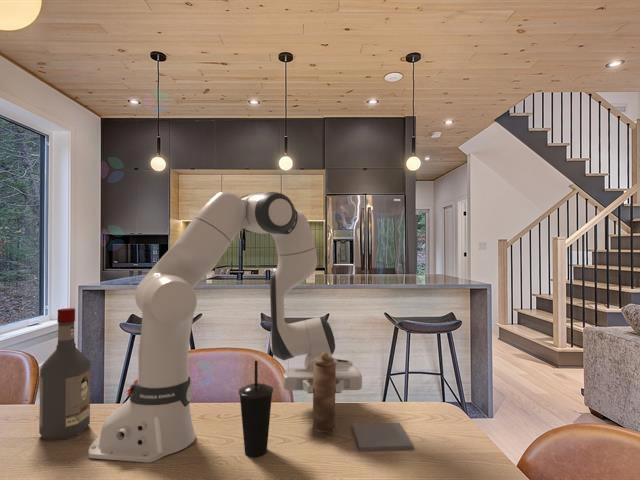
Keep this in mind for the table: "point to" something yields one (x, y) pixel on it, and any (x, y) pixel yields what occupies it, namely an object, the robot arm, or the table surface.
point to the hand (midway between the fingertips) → (324, 390)
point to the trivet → (381, 436)
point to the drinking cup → (255, 416)
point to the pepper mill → (324, 393)
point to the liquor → (64, 385)
